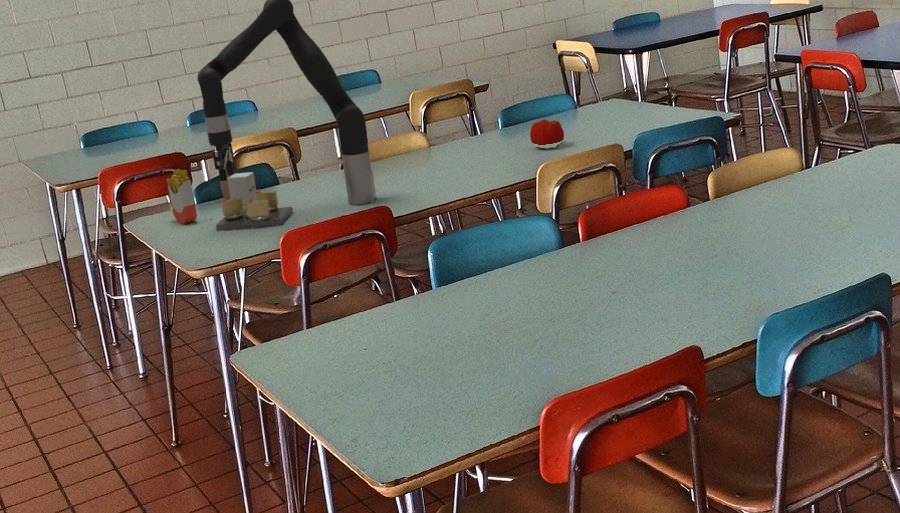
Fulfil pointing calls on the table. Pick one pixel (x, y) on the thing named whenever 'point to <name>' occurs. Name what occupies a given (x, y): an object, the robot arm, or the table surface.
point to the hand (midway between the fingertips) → (227, 177)
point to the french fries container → (182, 197)
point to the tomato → (546, 132)
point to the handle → (225, 187)
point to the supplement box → (242, 187)
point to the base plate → (245, 222)
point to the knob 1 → (232, 208)
